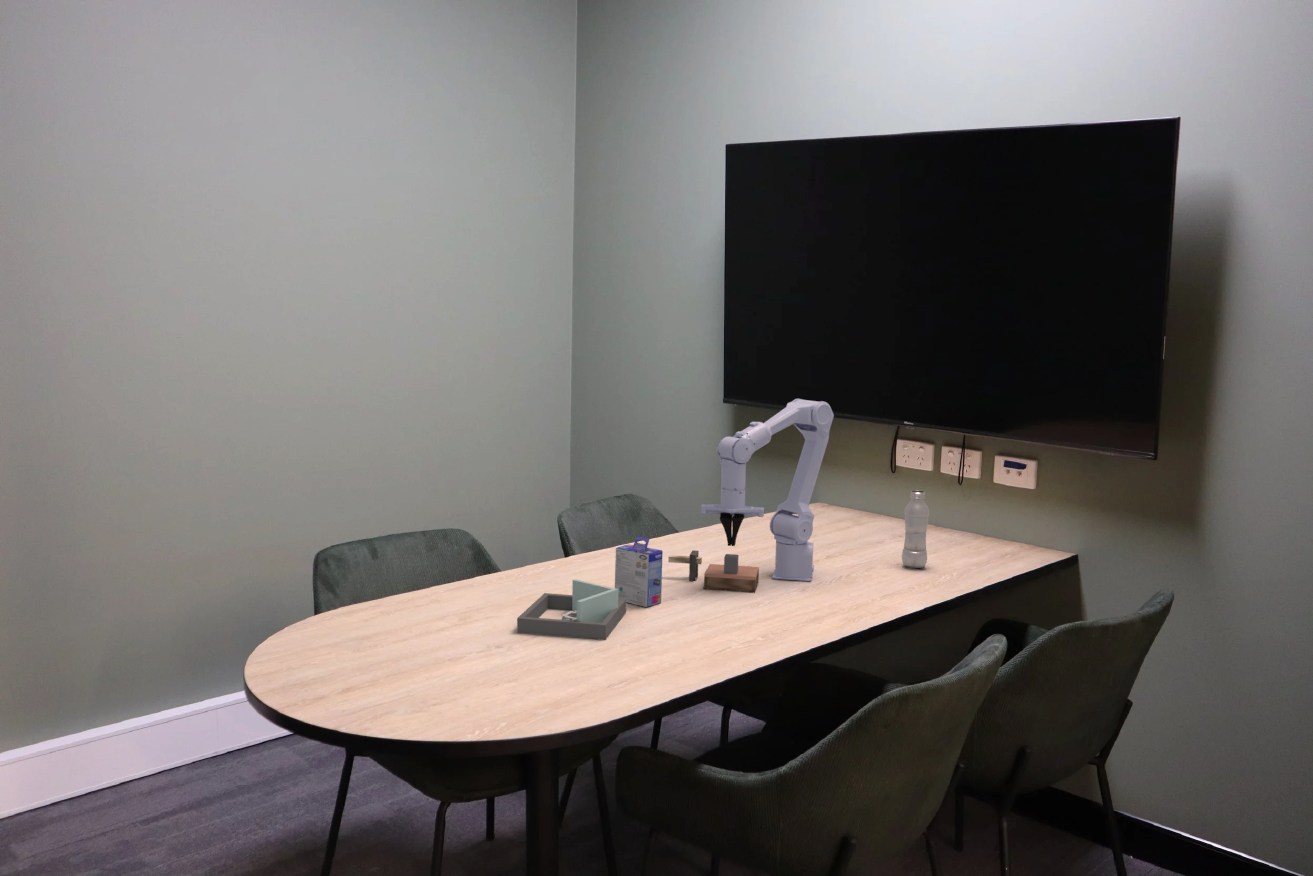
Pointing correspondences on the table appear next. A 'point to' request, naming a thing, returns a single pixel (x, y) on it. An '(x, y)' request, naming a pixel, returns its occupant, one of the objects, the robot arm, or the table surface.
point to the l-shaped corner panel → (591, 602)
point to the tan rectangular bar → (683, 559)
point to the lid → (731, 569)
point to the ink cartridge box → (639, 573)
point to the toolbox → (721, 579)
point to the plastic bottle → (915, 531)
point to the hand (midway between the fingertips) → (731, 545)
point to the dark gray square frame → (567, 628)
